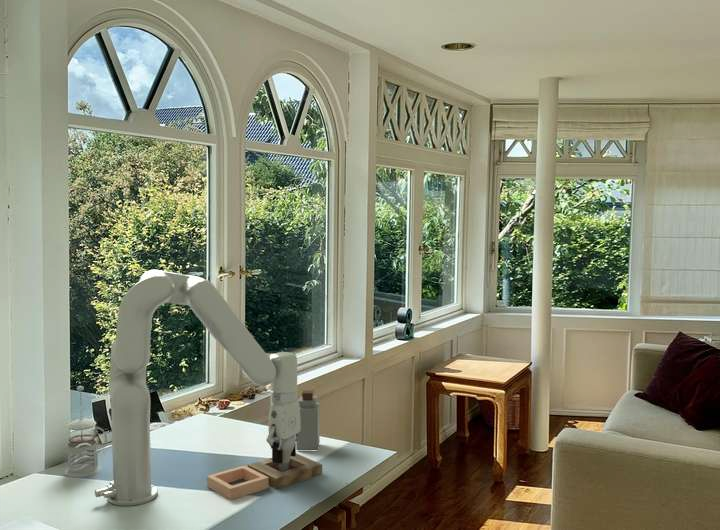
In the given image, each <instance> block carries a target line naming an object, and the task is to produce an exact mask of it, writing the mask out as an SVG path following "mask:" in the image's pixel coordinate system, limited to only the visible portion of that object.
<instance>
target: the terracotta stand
mask: <svg viewBox="0 0 720 530" xmlns="http://www.w3.org/2000/svg"><path fill="white" fill-rule="evenodd" d="M242 478H243V480H245V481H244V482H240V483H237V484H233V485H231V484H229V483H232V482H235V481H239V479H240V480H242ZM206 487H207V488H208V489H210V490H212V491H214V492H215V493H217V494H219V495H221V496H222V497H224V498H226V499H227V500H230V501H231V500H236V499H238V498H243V497H245V496H249V495H250V494H255V493H257V492H261V491H264V490H267V489H269V488H270V486H269V477H267V476H265V475H263V474H261V473H259V472H257V471H255V470H253V469H251V468H249V467H248V466H247V465H245V464H244V465H242V466H238V467H234V468H230V469H227V470H223V471H221V472H220V471H219V472H216V473H213V474H210V475H209V474H208V475H206Z"/></svg>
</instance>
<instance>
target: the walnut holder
mask: <svg viewBox="0 0 720 530" xmlns="http://www.w3.org/2000/svg"><path fill="white" fill-rule="evenodd" d="M246 466H247V467H249V468H251V469H253V470H255V471H257V472H259V473H261V474H263V475H265V476H267V477H269V488H272V489H275V490H278V489H282V488H284V487H288V486H291V485H294V484H297V483H301V482H303V481H306V480H310V479H313V478H315V477H316V478H317V477H319V475H320V476H322V475H323V464H322V463H320V462H319V461H315V460H313V459H311V458H309V457H306V456H304V455H301V454H299V453H297V452H296V456H290V461H289V467H290V468H289V469H287V470H286V471H280V470H279V469H280V465H279V463H275V462H272V457H269V458H266V459H262V460H259V461H255V462H252V463H249V464H247V465H246ZM291 468H292V469H291Z"/></svg>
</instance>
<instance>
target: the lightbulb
mask: <svg viewBox="0 0 720 530" xmlns="http://www.w3.org/2000/svg"><path fill="white" fill-rule="evenodd" d="M276 438H278V436H276ZM278 442H279V440H276V443H277V444H278ZM295 443H296V442H295V440H294V438H293V436H292V437H290V438H288V439H286V440H283V441H282V446H281V449H283V462H282V463H281V464H280V463H279V465H280V469H281V470H282V472H284V471H287V470H289V469H290V468H289V461H290V455H291V452H292V451H293V449H294V446H295Z"/></svg>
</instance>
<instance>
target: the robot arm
mask: <svg viewBox="0 0 720 530" xmlns="http://www.w3.org/2000/svg"><path fill="white" fill-rule="evenodd" d="M164 304H172V305H181V306H188V307H189V308H190V309H191V310H192V312H193V314H194V315H195V316H196V317H197V318H198V319H199V321H200V322H201V323H202V325H203V326H204V327H205V328H206V329H207V331H208V332H209V334H210V335H211V336H212V337H213V339H214V340H215V341H216V342H217V344H219V346H221V347H222V349H224V350H225V351H226V352H227V353H228V354H229V355H230V356H231V357H232V358H233V360H234V361H235V362H236V363H237V364H238V366H239V367H240V369H241V371H242V373H243V374H244V375H243V376H245V377H246V378H247V379H248V380H249V381H250V382H251V383H252V384H253V385H255V386H258V387H265V386H268V385H270V405H269V414H268V435H267V437H266V442H267V443H268V444H269V446H270V449H271V452H272V453H271V458H272V462H275V463H280V464H281V463H282V462H283V449H281V446H282V441H283V440H286V439H288V438H290V437H292V436H293V438H294V440H295V446H294V449H293V451H292V452H291V455H290V456H296V453H297V451H296V441H297V435H298V433H299V432H300V430H301V418H300V407H299V402H298V401H299V398H298V358H297V357H298V356H297V355H296V353H292V352H289V351H288V352H287V351H279V352H276V353H267V352H266V351H264V349H263V348H262V346H261V345H260V344H259V343H258V342H257V340H256V339H255V337H254V336H253V334H251V333H250V331H249V330H248V328H247V326H246V325H245V324H244V322H243V321H242V320H241V318H240V317H239V316H238V315H237V314H236V313H235V311H234V310H233V308H232V307H231V306H230V305H229V304H228V302H227V300H226V299H225V298H224V297H223V296H222V294H221V293H220V292H219V291H218V289H217V288H216V286H215V285H214V284H213V283H212V281H209V280H207V279H206V278H203V277H201V276H195V275H188V274H181V273H178V272H177V273H176V272H171V271H166V270H165V271H164V270H159V269H151V270H148V271H145V272H144V273H143V274H142V275H141V276H140V278H139V279H138V282H136V283H135V284H134V285H133V286H131V287H130V288H129V290H128V291H127V292H126V293H125V295H124V296H123V298H122V300H121V301H120V304H119V307H118V314H117V322H116V323H117V324H116V333H115V339H114V340H113V343H112V346H111V349H110V365H109V381H108V382H109V385H108V390H109V398H110V410H111V441H112V442H111V445H112V446H111V447H112V449H111V450H112V477H113V478H112V480H110V481H109V485H106V487H103V488H102V487H101V488H98V489H95V490H94V496H95V498H99V497H103V498H104V499H107V501H108V502H109V503H110V504H113V505H116V506H122V507H124V506H125V507H126V506H137V505H142V504H145V503H147V502H151V501H152V500H153V499H154V500H155V498H156V497H157V496H158V494H159V493H158V492H159V491H158V488H157V486H155V485H153V484H152V452H151V451H152V449H151V421H150V419H151V393H150V390H149V387H148V385H147V366H148V365H149V363H150V359H151V333H152V331H151V330H152V325H153V324H152V322H153V316H154V314H155V311H156V310H157V309H158V308H159V307H160V306H162V305H164ZM276 436H278V438H276ZM276 440H279V442H278V444H277V443H276Z"/></svg>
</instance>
